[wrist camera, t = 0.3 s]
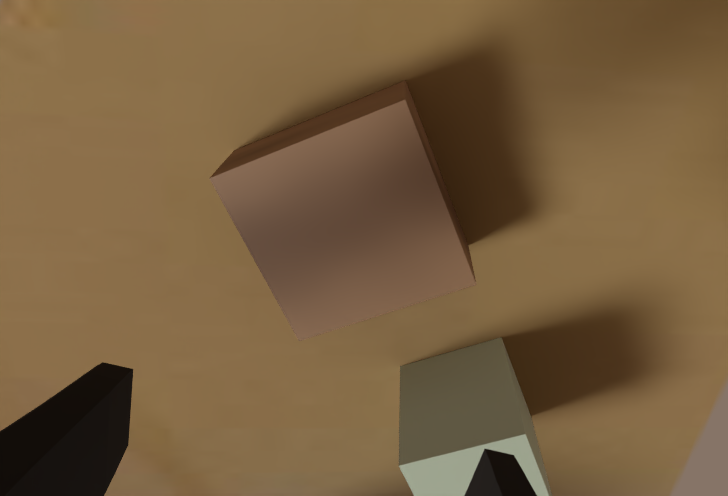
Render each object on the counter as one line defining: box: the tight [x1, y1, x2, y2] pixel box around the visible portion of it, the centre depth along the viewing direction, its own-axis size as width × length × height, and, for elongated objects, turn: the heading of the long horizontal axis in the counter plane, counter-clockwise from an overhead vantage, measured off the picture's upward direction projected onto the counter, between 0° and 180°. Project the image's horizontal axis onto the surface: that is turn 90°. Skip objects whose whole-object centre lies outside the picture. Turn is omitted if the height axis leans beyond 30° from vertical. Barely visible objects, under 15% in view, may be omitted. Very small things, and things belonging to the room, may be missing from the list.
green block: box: [399, 337, 552, 496], centre depth 21 cm, size 4×4×5 cm
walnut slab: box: [210, 80, 476, 341], centre depth 19 cm, size 6×6×3 cm
